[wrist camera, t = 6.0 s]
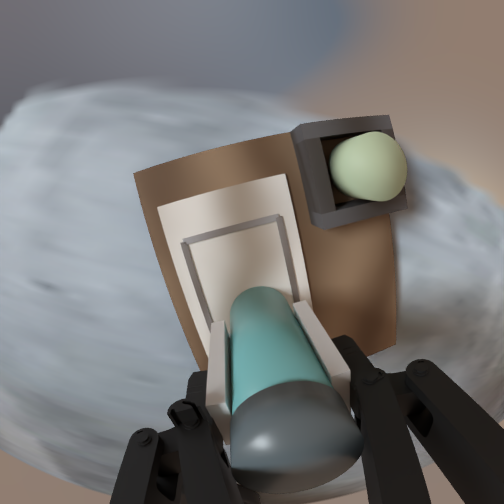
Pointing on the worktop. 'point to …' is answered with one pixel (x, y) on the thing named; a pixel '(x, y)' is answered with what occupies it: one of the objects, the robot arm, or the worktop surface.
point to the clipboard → (274, 234)
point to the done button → (368, 167)
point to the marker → (283, 402)
